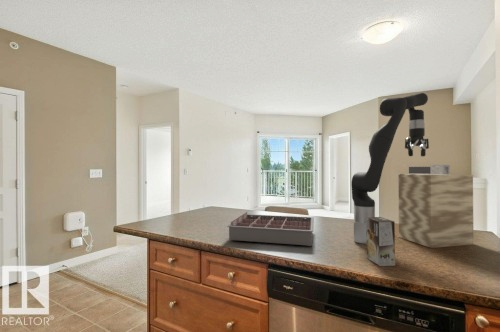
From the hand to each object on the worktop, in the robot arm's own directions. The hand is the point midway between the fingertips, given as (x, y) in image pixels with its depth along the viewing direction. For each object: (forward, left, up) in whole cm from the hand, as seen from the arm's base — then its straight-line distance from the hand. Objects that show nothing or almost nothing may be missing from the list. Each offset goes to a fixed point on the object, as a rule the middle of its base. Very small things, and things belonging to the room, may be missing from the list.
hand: (416, 156), depth 146 cm
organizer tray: (-72, +47, -43) cm, 96 cm away
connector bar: (-13, -8, -10) cm, 18 cm away
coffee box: (-69, -4, -42) cm, 81 cm away
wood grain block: (-21, -12, -42) cm, 49 cm away
